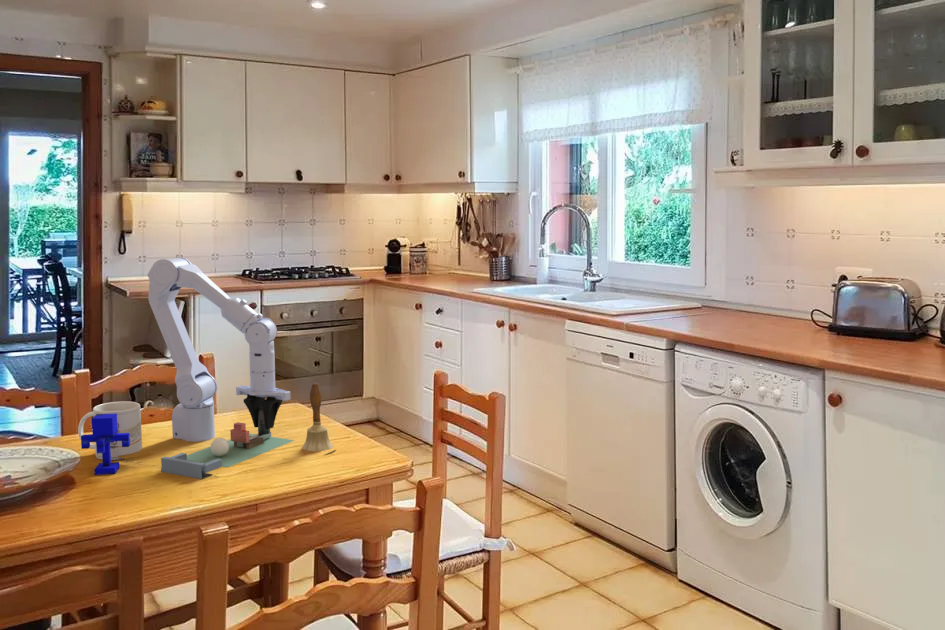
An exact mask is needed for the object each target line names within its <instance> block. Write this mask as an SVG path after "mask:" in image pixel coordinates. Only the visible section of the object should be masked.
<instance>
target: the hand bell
mask: <svg viewBox="0 0 945 630" xmlns="http://www.w3.org/2000/svg"><path fill="white" fill-rule="evenodd" d="M309 402H310V406H311V408H312V423H313V424H312V426H309V427H308V428H307V432H306V438H305V442H304V444H303V445H302V446H301V449H302V450H304V451H307V452H323V451H324V452H325V451H329V450H331V449H333V448H334V445H333V443H332V442H331V440H330V438H329V434H328V428H327V427H326V426H325V425H322V422H321V413H320V412H321V411H320V410H321V404H322V392H321V389H320V386H319V383H318V382H313V383H311V389H310V392H309ZM336 451H337V450H336V449H334V450H331V451H330V452H328V453H325V454H323V457H325V456H328V455H332V454H333V453H335V452H336Z"/></svg>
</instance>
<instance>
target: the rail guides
mask: <svg viewBox="0 0 945 630" xmlns="http://www.w3.org/2000/svg"><path fill="white" fill-rule="evenodd" d="M249 437H251V436H249ZM261 444H263V438H262V437H259V438H256V439H254V440H251V441H250V442H248V443H246V449H251V448H253V447H256V446H259V445H261ZM234 447H237V442H234Z"/></svg>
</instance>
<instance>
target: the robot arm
mask: <svg viewBox="0 0 945 630" xmlns="http://www.w3.org/2000/svg"><path fill="white" fill-rule="evenodd" d="M150 267H151V268H150V269H149V271H148V273H147V276H148V279H149V281H148V282H149V283H148V284H149V285H148V298H147V299H148V304H149V306H150V308H151V310H152V313H153V315H154V318H155V320H156V323H157V326H158V328H159V330H160V332H161V333H160V334H161V335H162V339H163V340H164V342H165V344H166V347H167V351H168V352H169V355H170V357H171V360H172V362H173V365H174V366H175V369H176V372H175V373H176V374H175V378H174V382H175V384H176V397H177V400H178V402H179V403H178V404H177V405H175V407H174V408H173V409H172V415H171V425H172V426H171V428H172V429H171V430H172V431H171V432H172V439H177V440H183V441H186V442H192V443H193V442H194V443H195V442H205V441H210V440H212V439H215V437H216V436H215V435H216V430H215V428H216V427H215V404H214V403H215V401H214V396H215V395H216V393H217V391H218V383H217V380H216V379H215V377H213V375H211V373H210V372H209V371H208V368H207V367H206V366H205V365H204V364H203V363H202V362H201V361H200V360H199V358H198V356H197V352H196V349H195V348H194V346H193V343H192V341H191V338H190V336H189V333H188V331H187V328H186V326H185V323H184V321H183V319H182V316H181V313H180V311H179V307H178V306H177V303H176V301H175V300H176V298H177V296H178V294H179V292H180V290H181V288H185V289H193V290H194V291H196V292H198V293H199V294H200V295H202V296H203V297H204V298H205V299H207V300H208V301H210V302H211V303H212V304H214V305H215V306H217V307H218V308H219V309H220V312H221V317H222V318H223V319H225V320H226V321H227V322H228V323H229V324H230V325H232V326H233V327H235V328H236V329H237V330H238V331H239V332H241V333H242V334H243V335H244V339H245V341H246V342H247V343H248V345H249V355H248V357H249V384H250V385H238V386H236V387H235V394H236V395H237V396H246V398H243V404H244V405H245V407H246V408H247V410H248V412H249V414H250V416H251V419H252V423H253V427H254V428H257V429H258V414H257V408H259V407H263V411H264V416H265V427H266V429H270V430H271V429H273V428H274V427H275V422H276V418H277V414H278V411H279V409H280V407H281V405H282V403H283V402H287V401H290V400H291V398H292V397H291V391H289V390H285V389H281V388H278V387H276V366H275V365H276V363H275V362H276V359H275V356H276V355H275V353H276V352H275V341H274V340H275V338H276V336H277V334H278V329H277V325H276V323H274V322H273V320H272V319H271V318H269V317H264V315H263V314H262V313H260V312H259V313H258V312H257V311H255V310H254V309H253V308H252V307H250V305H248V301H247V300H246V299H245V298H243V299H240V298H239V297H230V296H229V295H228V294H227V293H226V292H225V291H224V290H223V289H222V288H220V287H219V286H218V285H217V284H216V283H215V282H213V280H211V279H210V278H209V277H208V276H207V275H206V274H205V273H204V272H203V271H202V270H201V269H200V268H199V267H198V266H197V265H195V264H194V263H191V261H190V260H189V259H187V258H186V257H182V256H178V257H177V256H176V257H174V258H162V259H158V260H156V261H155V262H154V263H153V264H152V266H150Z"/></svg>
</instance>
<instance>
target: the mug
mask: <svg viewBox="0 0 945 630" xmlns="http://www.w3.org/2000/svg"><path fill="white" fill-rule="evenodd" d="M141 412H142V411H141V404H140V403H138V402H135V401H127V400H126V401H111V402H104V403H102V404H98V405H95V406H94V407H92V411H90V412H87V413H86V414H85V415H83V416H82V417H81V419H80V421H79V423H78V428H77V430H78V431H77V433H78V434H77V435H78V437H79V440H80V441H81V436H82V435H85V434H84V425H85V421H87V419H88V418H90V417H92V418H93V417H94V416H95V415H96V414H115V413H117V427H118V432H117V433H130V446H129V447H122V441H114V442H113V443H110V452H111V461H119V460H120V461H121V460H126V458H123V457H121V456H127V455H131V454H135V453H137V452H138V453H139V452H140V451H141V450H142V449H143V438H142V437H143V433H142V432H143V431H142V415H141V414H142V413H141ZM88 449H91V450H94V451H95V457H96V459H99V460H102V453H97V448H96V442H94V443H93V442H90V447H89V448H88Z"/></svg>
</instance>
